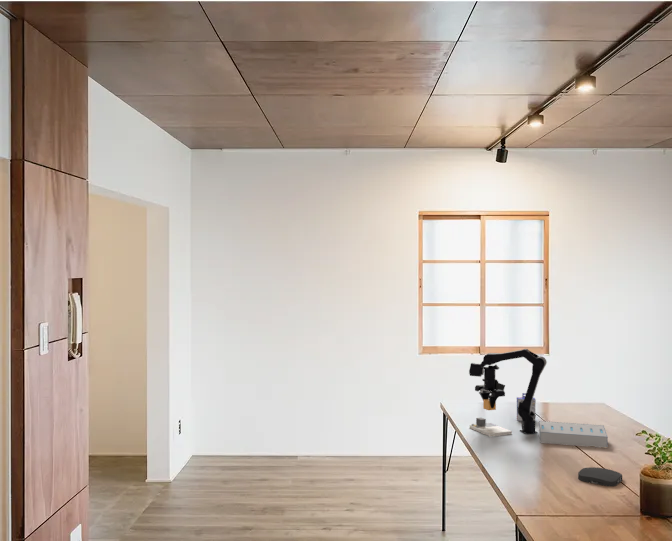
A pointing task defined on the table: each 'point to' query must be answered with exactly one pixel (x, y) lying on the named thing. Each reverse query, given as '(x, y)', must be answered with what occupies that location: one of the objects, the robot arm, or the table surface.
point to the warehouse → (572, 434)
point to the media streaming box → (600, 476)
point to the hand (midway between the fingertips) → (489, 407)
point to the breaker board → (491, 429)
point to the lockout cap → (488, 405)
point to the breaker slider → (480, 421)
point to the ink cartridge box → (523, 400)
